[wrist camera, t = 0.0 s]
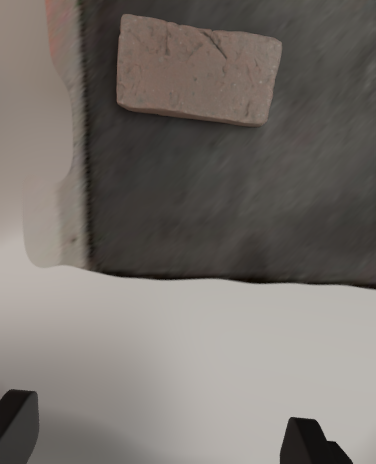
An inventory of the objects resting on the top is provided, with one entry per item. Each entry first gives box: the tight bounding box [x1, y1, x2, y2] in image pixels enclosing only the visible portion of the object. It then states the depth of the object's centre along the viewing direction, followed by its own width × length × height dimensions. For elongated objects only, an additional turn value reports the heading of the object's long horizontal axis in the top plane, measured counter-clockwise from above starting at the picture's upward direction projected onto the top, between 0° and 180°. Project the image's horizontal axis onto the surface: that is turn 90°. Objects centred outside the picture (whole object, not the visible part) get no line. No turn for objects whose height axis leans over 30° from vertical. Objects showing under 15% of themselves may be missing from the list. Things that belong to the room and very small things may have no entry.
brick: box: [117, 14, 282, 127], centre depth 31 cm, size 17×8×5 cm, turn 83°
